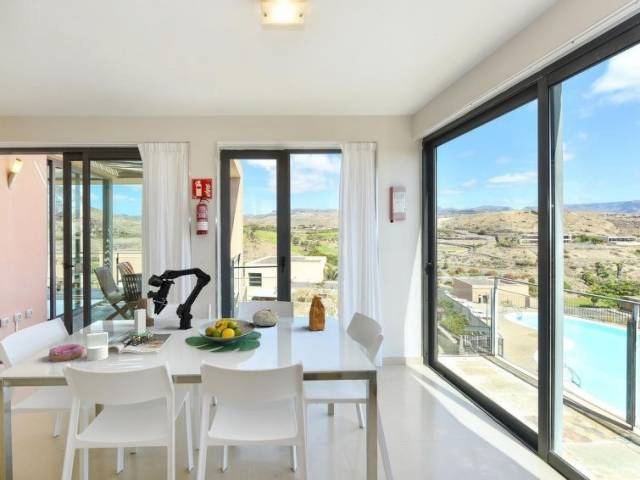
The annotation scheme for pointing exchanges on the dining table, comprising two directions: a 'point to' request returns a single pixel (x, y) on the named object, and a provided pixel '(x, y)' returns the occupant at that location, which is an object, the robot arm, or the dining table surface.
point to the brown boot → (143, 305)
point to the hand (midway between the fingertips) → (156, 314)
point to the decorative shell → (265, 317)
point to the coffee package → (317, 314)
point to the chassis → (142, 339)
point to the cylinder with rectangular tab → (97, 346)
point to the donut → (66, 352)
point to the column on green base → (139, 323)
